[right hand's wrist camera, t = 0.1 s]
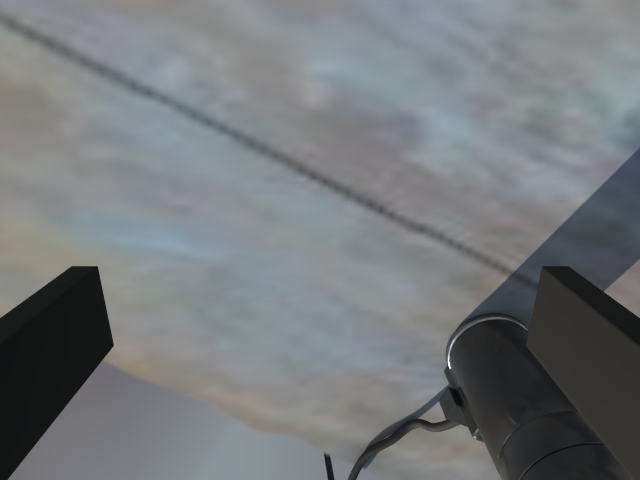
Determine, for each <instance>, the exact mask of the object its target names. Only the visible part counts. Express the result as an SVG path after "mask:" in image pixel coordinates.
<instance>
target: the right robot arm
mask: <svg viewBox="0 0 640 480" xmlns="http://www.w3.org/2000/svg"><path fill="white" fill-rule="evenodd" d="M113 346H114V344H113V339H112V334H111V329H110V324H109V320H108V315H107V310H106V305H105V300H104V295H103V290H102V285H101V280H100V275H99V271H98V266H72V267H70V268H69V269H67V270H66V271H65V272H63V273H62V274H61V275H59V276H58V277H56V278H55V279H54V280H52V281H51V282H50V283H48V284H47V285H45V286H44V287H43V288H41V289H40V290H39V291H37V292H36V293H34V294H33V295H32V296H30V297H29V298H27V299H26V300H25V301H23V302H22V303H21V304H19V305H18V306H16V307H15V308H14V309H12V310H11V311H10V312H8V313H7V314H5V315H4V316H3V317H1V318H0V480H8V478H9V477H10V476H11V475H12V473H13V472H14V471H15V469H16V468H17V467H18V466H19V464H20V463H21V462H22V461H23V459H24V458H25V457H26V456H27V454H28V453H29V452H30V451H31V449H32V448H33V447H34V445H35V444H36V443H37V442H38V441H39V439H40V438H41V437H42V435H43V434H44V433H45V432H46V430H47V429H48V428H49V427H50V425H51V424H52V423H53V422H54V420H55V419H56V418H57V417H58V415H59V414H60V413H61V412H62V410H63V409H64V408H65V407H66V405H67V404H68V403H69V401H70V400H71V399H72V398H73V396H74V395H75V394H76V393H77V391H78V390H79V389H80V388H81V386H82V385H83V384H84V383H85V381H86V380H87V379H88V378H89V376H90V375H91V374H92V373H93V371H94V370H95V369H96V367H97V366H98V365H99V364H100V362H101V361H102V360H103V359H104V357H105V356H106V355H107V354H108V352H109V351H110V350H111V349H112V347H113ZM526 346H527V347H528V349H529V350H530V351H531V352H532V354H533V355H534V356H535V357H536V359H537V360H538V361H539V362H540V364H541V365H542V366H543V367H544V369H545V370H546V371H547V373H548V374H549V375H550V376H551V378H552V379H553V380H554V381H555V383H556V384H557V385H558V386H559V388H560V389H561V390H562V391H563V393H564V394H565V395H566V396H567V398H568V399H569V400H570V401H571V403H572V404H573V405H574V407H575V408H576V409H577V410H578V412H579V413H580V414H581V415H582V417H583V418H584V419H585V420H586V422H587V423H588V424H589V425H590V427H591V428H592V429H593V430H594V432H595V433H596V434H597V436H598V437H599V438H600V439H601V441H602V442H603V443H604V444H605V446H606V447H607V448H608V449H609V451H610V452H611V453H612V454H613V456H614V457H615V458H616V459H617V461H618V462H619V463H620V464H621V466H622V467H623V468H624V470H625V471H626V472H627V473H628V475H629V476H630V477H631V478H632V480H640V318H639V317H637V316H636V315H635V314H633V313H632V312H630V311H629V310H628V309H626V308H625V307H624V306H622V305H621V304H619V303H618V302H617V301H615V300H614V299H613V298H611V297H610V296H608V295H607V294H606V293H604V292H603V291H601V290H600V289H599V288H597V287H596V286H595V285H593V284H592V283H590V282H589V281H588V280H586V279H585V278H584V277H582V276H581V275H579V274H578V273H577V272H575V271H574V270H573V269H571V268H570V267H568V266H542V271H541V275H540V280H539V285H538V290H537V295H536V300H535V305H534V310H533V315H532V320H531V324H530V329H529V334H528V339H527V344H526Z"/></svg>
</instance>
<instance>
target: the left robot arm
mask: <svg viewBox="0 0 640 480" xmlns="http://www.w3.org/2000/svg"><path fill="white" fill-rule="evenodd" d="M528 334H529V331H528V330H527V328H526V327H525V326H524V325H523V324H522V323H521V322H520V321H518V320H517V319H515V318H513V317H510V316H507V315H503V314H486V315H481V316H478V317H475V318H473V319H471V320H469V321H467V322H465V323H464V324H463V325H461V326H460V327H459V328H458V329H457V330H456V331H455V332H454V333H453V335H452V336H451V338H450V340H449V342H448V345H447V348H446V361H447V364H448V365H447V368H446V369H445V371H444V373H445V375H446V377H447V380H448V382H449V384H450V387H451V388H450V387H448V388H447V389H446V391H445V392H444V393H443V395H442V396H441V398H440V399H439V402H440V405H441V407H442V410H443V412H444V415H445V418H446V419H447V420H445V421H442V422H438V423H430V422H428V421H425V420H422V419H415V420H411V421H409V422H407V423H406V424H404V425H403V426H402V427H401V428H399V429H398V430H397V431H396V432H395V433H393V434H392V435H391V436H389V437H388V438H386V439H384V440H382V441H380V442H378V443H376V444H374V445H373V446H371V447H370V448H368V449H367V450H366V451H365V452H364V453H363V454H362V455H361V456H360V458H359V459H358V460H357V462H356V464H355V465H354V467H353V469H352V471H351V473H350V476H349V478H348V480H356V478H357V476H358V474H359V472H360V470H361V468H362V467H363V465H364V464H365V463H366V461H367V460H368V459H369V458H370V457H371V456H373V455H374V454H376V453H377V452H379V451H381V450H383V449H385V448H387V447H389V446H391V445H392V444H394V443H395V442H397V441H398V440H399V439H401V438H402V437H403V436H404V435H405V434H407V433H408V432H409V431H411V430H413V429H415V428H419V427H421V428H423V429H425V430H428V431H431V432H440V431H445V430H448V429H451V428H453V427H455V426H458V425H460V424H461V425H464V426H467V427H468V428H469V430H470V433H471V435H472V436H473V437H474V438H475V439H476V440H479V441H481V442H484V443H485V445H486V447H487V449H488V451H489V453H490V456H491V458H492V460H493V462H494V464H495V466H496V468H497V471H498V473H499V475H500V477H501V479H502V480H632V478H631V477H630V476H629V475H628V473H627V472H626V471H625V470H624V468H623V467H622V466H621V464H620V463H619V462H618V461H617V459H616V458H615V457H614V456H613V454H612V453H611V452H610V451H609V449H608V448H607V447H606V446H605V444H604V443H603V442H602V441H601V439H600V438H599V437H598V436H597V434H596V433H595V432H594V430H593V429H592V428H591V427H590V425H589V424H588V423H587V422H586V420H585V419H584V418H583V417H582V415H581V414H580V413H579V412H578V410H577V409H576V408H575V407H574V405H573V404H572V403H571V401H570V400H569V399H568V398H567V396H566V395H565V394H564V393H563V391H562V390H561V389H560V388H559V386H558V385H557V384H556V383H555V381H554V380H553V379H552V378H551V376H550V375H549V374H548V373H547V371H546V370H545V369H544V367H543V366H542V365H541V364H540V362H539V361H538V360H537V359H536V357H535V356H534V355H533V354H532V352H531V351H530V350H529V349H528V347H527V346H526V344H527V339H528ZM324 459H325V465H326V471H327V478H328V480H335V479H334V474H333V468H332V462H331V457H330V455H328V454H326V453H324Z"/></svg>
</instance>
